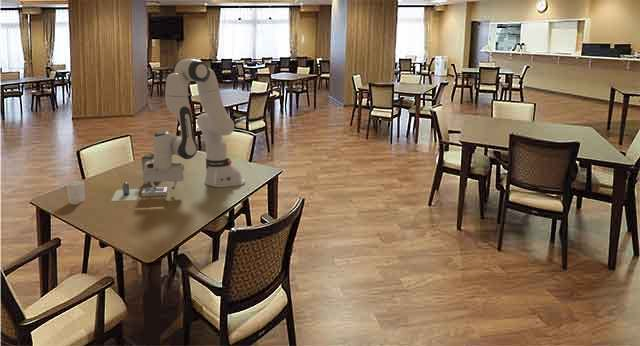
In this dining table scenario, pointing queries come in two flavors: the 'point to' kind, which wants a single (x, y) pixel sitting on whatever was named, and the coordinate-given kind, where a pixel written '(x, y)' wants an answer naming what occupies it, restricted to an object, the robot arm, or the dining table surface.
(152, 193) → the rectangular frame
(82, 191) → the white cup
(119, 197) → the keeper plate
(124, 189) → the post
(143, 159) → the coffee box
